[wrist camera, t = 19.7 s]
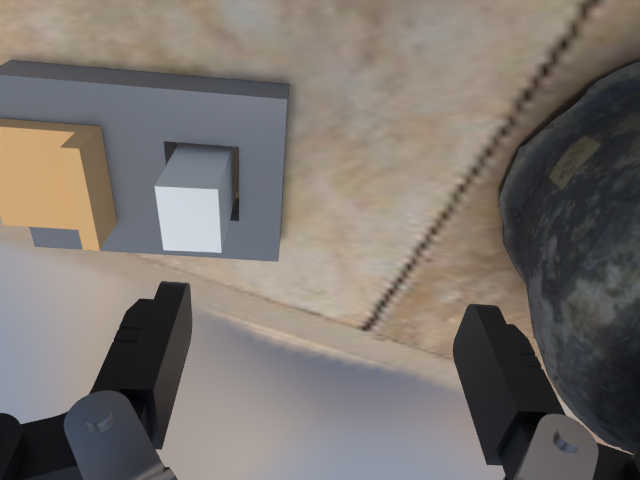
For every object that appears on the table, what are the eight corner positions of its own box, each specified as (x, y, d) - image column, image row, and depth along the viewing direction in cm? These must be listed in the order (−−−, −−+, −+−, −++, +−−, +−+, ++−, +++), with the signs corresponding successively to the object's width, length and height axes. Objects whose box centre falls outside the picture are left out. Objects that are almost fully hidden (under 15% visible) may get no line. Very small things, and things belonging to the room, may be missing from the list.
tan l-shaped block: (-18, 117, 33) (-53, 138, 30) (100, 126, 34) (79, 148, 30) (13, 215, 38) (-15, 243, 34) (117, 222, 38) (99, 250, 35)
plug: (184, 133, 38) (154, 186, 30) (235, 135, 38) (218, 189, 31) (189, 188, 41) (163, 250, 33) (236, 191, 41) (221, 252, 33)
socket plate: (11, 60, 34) (-16, 73, 32) (288, 84, 36) (287, 99, 33) (53, 223, 42) (35, 246, 39) (280, 238, 44) (278, 261, 41)
